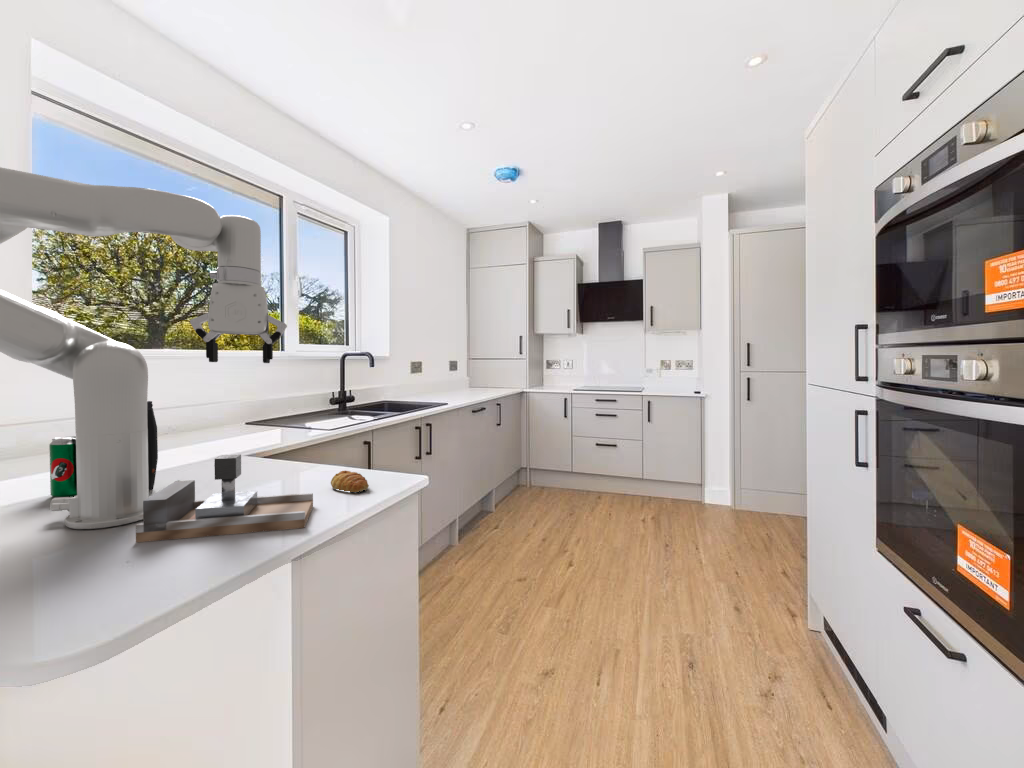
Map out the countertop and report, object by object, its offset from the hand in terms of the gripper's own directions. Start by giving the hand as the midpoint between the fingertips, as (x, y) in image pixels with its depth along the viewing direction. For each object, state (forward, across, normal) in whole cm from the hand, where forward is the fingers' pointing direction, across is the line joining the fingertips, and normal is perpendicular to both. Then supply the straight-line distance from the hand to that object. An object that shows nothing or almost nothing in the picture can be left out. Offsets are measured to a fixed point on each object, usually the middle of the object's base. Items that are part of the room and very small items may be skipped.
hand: (240, 362), depth 91 cm
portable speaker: (+28, -23, +9) cm, 38 cm away
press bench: (+28, +3, -16) cm, 33 cm away
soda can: (+28, -34, +10) cm, 45 cm away
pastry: (+29, +22, +2) cm, 36 cm away
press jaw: (+27, +2, -16) cm, 31 cm away
